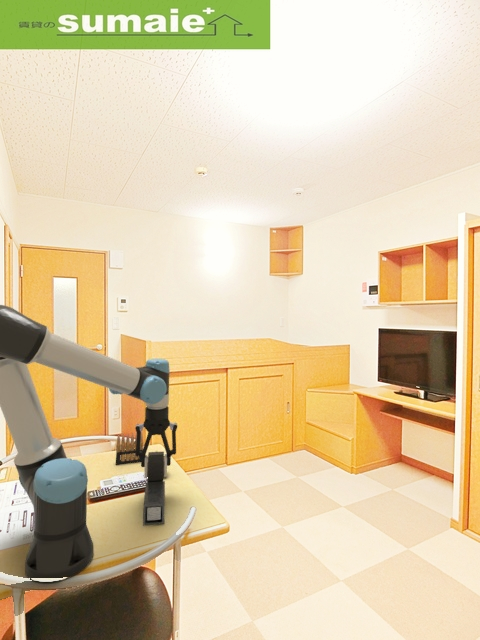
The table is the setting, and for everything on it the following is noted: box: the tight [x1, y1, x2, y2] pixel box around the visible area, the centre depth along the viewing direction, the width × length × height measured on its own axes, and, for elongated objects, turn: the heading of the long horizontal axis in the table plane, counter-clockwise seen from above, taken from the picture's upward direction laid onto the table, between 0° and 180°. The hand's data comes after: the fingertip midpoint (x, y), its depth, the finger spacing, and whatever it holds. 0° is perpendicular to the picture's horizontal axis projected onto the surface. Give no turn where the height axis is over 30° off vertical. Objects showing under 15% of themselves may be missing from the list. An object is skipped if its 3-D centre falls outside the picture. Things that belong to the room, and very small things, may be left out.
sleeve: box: [142, 480, 166, 527], centre depth 114 cm, size 14×6×6 cm, turn 11°
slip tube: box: [147, 451, 165, 521], centre depth 118 cm, size 22×5×14 cm, turn 11°
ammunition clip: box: [115, 431, 144, 466], centre depth 149 cm, size 11×2×12 cm, turn 111°
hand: (155, 475), depth 122 cm, fingers open, 6 cm apart
